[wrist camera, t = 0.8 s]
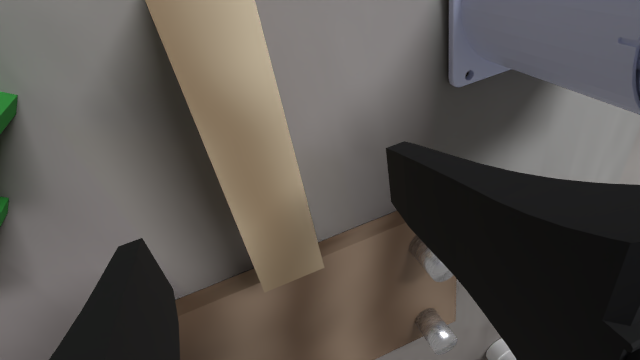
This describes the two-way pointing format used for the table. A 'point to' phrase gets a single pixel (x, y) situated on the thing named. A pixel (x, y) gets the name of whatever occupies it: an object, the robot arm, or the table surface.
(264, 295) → the peg base
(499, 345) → the pipe fitting
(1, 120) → the green block
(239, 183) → the pine shelf board
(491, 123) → the table surface
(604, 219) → the robot arm
